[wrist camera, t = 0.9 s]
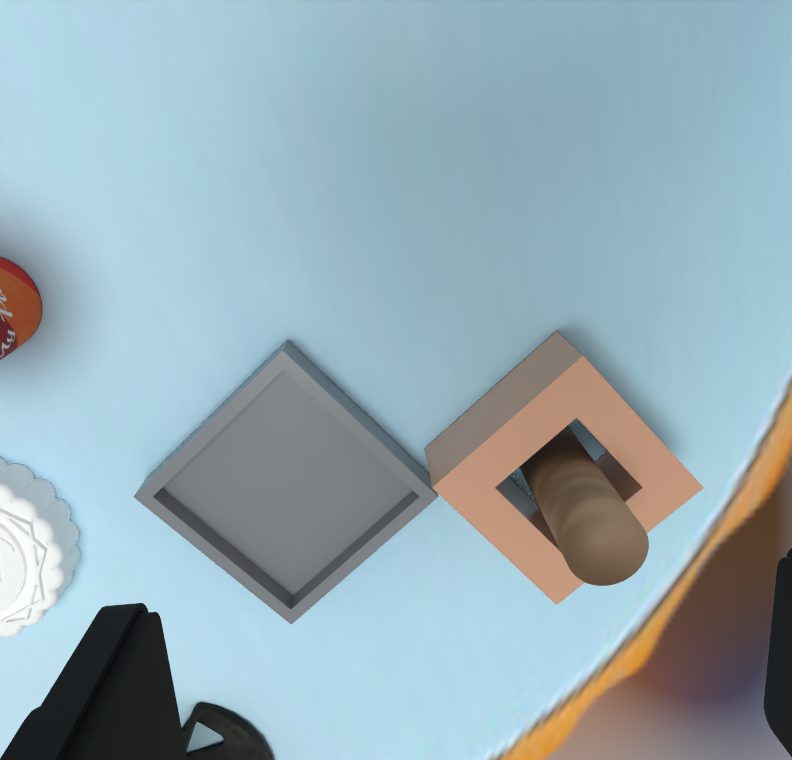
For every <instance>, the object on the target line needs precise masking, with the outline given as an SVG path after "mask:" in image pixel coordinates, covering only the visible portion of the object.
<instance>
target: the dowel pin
mask: <svg viewBox="0 0 792 760" xmlns="http://www.w3.org/2000/svg"><path fill="white" fill-rule="evenodd" d="M520 469H521V471H522V473H523V475H524V477H525V479H526V481H527V483H528V486H529V488H530V490H531V492H532V494H533V496H534V498H535V500H536V502H537V504H538V506H539V508H540V510H541V512H542V514H543V516H544V518H545V520H546V522H547V524H548V526H549V528H550V530H551V532H552V534H553V536H554V538H555V540H556V542H557V544H558V546H559V549H560V551H561V553H562V555H563V557H564V559H565V561H566V563H567V565H568V567H569V569H570V570H571V572H572V573H573V574H574V575H575V576H576V577H577V578H578V579H580V580H582V581H584V582H586V583H589V584H592V585H599V586H605V585H613V584H616V583H619V582H622V581H624V580H626V579H628V578H629V577H631V576H632V575H633V574H634V573H635V572H637V570H638V569H639V568H640V567H641V566H642V564H643V563H644V561H645V559H646V556H647V553H648V547H649V543H648V536H647V533H646V531H645V529H644V528H643V526H642V525H641V523H640V522H639V521H638V519H637V518H636V517H635V515H634V514H633V513H632V511H631V510H630V509H629V507H628V506H627V505H626V503H625V502H624V501H623V499H622V498H621V497H620V495H619V494H618V493H617V491H616V490H615V489H614V487H613V486H612V485H611V483H610V482H609V481H608V479H607V478H606V477H605V475H604V474H603V473H602V471H601V470H600V469H599V467H598V466H597V465H596V463H595V462H594V461H593V459H592V458H591V457H590V455H589V454H588V453H587V451H586V450H585V449H584V447H583V446H582V445H581V443H580V442H579V441H578V439H577V438H576V437H575V435H574V434H573V433H572V431H571V430H570V429H569V428H568V427H567V426H566V427H565V428H564V429H563V430H562V431H560V432H559V433H558V434H557V435H556V436H555V437H553V438H552V439H551V440H550V441H549V442H548V443H546V444H545V445H544V446H543V447H542V448H541V449H539V450H538V451H537V452H536V453H535V454H534V455H532V456H531V457H530V458H529V459H528V460H527V461H525V462H524V463H523V464H522V465H521V466H520Z"/></svg>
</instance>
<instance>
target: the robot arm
mask: <svg viewBox="0 0 792 760" xmlns="http://www.w3.org/2000/svg"><path fill="white" fill-rule="evenodd" d="M764 710H765V715H766V718H767V721H768V724H769V726H770V728H771V729H772V731H773V732H774V734H775V735H776V737H777V738H778V739H779V741H780V742H781V743H782V744H783V746H784V747H785V748H786V750H787V751H788V753H789V754H790V755H791V757H792V549H790V550H789V552H788V554H787V557H785V558H782V559H781V560H780V561H779V563H778V566H777V575H776V585H775V595H774V605H773V616H772V625H771V636H770V647H769V657H768V666H767V677H766V686H765V696H764ZM0 760H187V754H186V749H185V744H184V739H183V733H182V728H181V723H180V718H179V712H178V707H177V702H176V697H175V691H174V686H173V681H172V676H171V670H170V665H169V660H168V655H167V649H166V644H165V639H164V634H163V628H162V623H161V619H160V616H159V614H158V613H157V612H150V613H148V609H147V608H146V606H145V605H144V604H143V603H137V604H125V605H114V606H105V607H102V608H101V609H100V611H99V612H98V613H97V615H96V617H95V618H94V620H93V622H92V623H91V625H90V626H89V628H88V630H87V631H86V633H85V635H84V636H83V638H82V639H81V641H80V643H79V644H78V646H77V648H76V649H75V651H74V652H73V654H72V656H71V657H70V659H69V661H68V662H67V664H66V666H65V667H64V669H63V670H62V672H61V674H60V675H59V677H58V679H57V680H56V682H55V683H54V685H53V687H52V688H51V690H50V692H49V693H48V695H47V696H46V698H45V700H44V701H43V703H42V705H41V706H40V707H38V708H36V709H34V710H33V711H32V712H31V713H30V714H29V715H28V716H27V718H26V719H25V720H24V722H23V723H22V725H21V727H20V728H19V730H18V731H17V733H16V735H15V736H14V738H13V739H12V741H11V742H10V744H9V746H8V747H7V749H6V750H5V752H4V754H3V755H2V757H1V758H0Z"/></svg>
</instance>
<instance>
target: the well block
mask: <svg viewBox="0 0 792 760" xmlns="http://www.w3.org/2000/svg"><path fill="white" fill-rule="evenodd" d="M576 418H577V419H578V420H579V421H580V422H581V423H582V424H583V425H584V426H585V427H586V428H587V429H588V430H589V431H590V432H591V433H592V434H593V435H594V437H595V438H596V439H597V440H598V441H599V442H600V443H601V444H602V445H603V446H604V447H605V448H606V449H607V450H608V451H607V452H606V453H605V454H604V455H603V456H601V457H600V458H599V459H598V460H597V461H595V463H596V465H597V466H598V467H599V469H600V470H601V471H602V473H603V474H604V475H605V477H606V478H607V479H608V481H609V482H610V483H611V485H612V486H613V487H614V489H615V490H616V491H617V493H618V494H619V495H620V497H621V498H622V499H623V501H624V502H625V503H626V505H627V506H628V507H629V509H630V510H631V511H632V513H633V514H634V515H635V517H636V518H637V519H638V521H639V522H640V523H641V525H642V526H643V528H644V529H645V531H646V533H648V532H649V531H650V530H651V529H653V528H654V527H655V526H656V525H658V524H659V523H660V522H661V521H663V520H664V519H665V518H666V517H668V516H669V515H670V514H671V513H673V512H674V511H675V510H676V509H678V508H679V507H680V506H682V505H683V504H684V503H685V502H687V501H688V500H689V499H690V498H692V497H693V496H694V495H695V494H697V493H698V492H699V491H700V490H702V489H703V486H702V485H701V484H700V483H699V482H698V481H697V480H696V479H695V478H694V477H693V475H692V474H691V473H690V472H689V471H688V470H687V469H686V468H685V467H684V466H683V464H682V463H681V462H680V461H679V460H678V459H677V458H676V457H675V456H674V455H673V453H672V452H671V451H670V450H669V449H668V448H667V447H666V446H665V445H664V444H663V442H662V441H661V440H660V439H659V438H658V437H657V436H656V435H655V434H654V433H653V431H652V430H651V429H650V428H649V427H648V426H647V425H646V424H645V423H644V422H643V420H642V419H641V418H640V417H639V416H638V415H637V414H636V413H635V412H634V411H633V410H632V408H631V407H630V406H629V405H628V404H627V403H626V402H625V401H624V400H623V399H622V397H621V396H620V395H619V394H618V393H617V392H616V391H615V390H614V389H613V388H612V386H611V385H610V384H609V383H608V382H607V381H606V380H605V379H604V378H603V377H602V375H601V374H600V373H599V372H598V371H597V370H596V369H595V368H594V367H593V366H592V364H591V363H590V362H589V361H588V360H587V359H586V358H585V357H584V356H583V355H582V354H581V353H580V352H579V351H578V350H577V349H576V348H575V347H573V346H572V345H571V344H570V343H569V342H568V341H567V340H566V339H565V338H564V337H562V336H561V335H560V334H559V333H558V332H557V331H556V332H555V333H553V334H552V335H551V336H550V337H549V338H548V339H547V340H546V341H544V342H543V343H542V344H541V345H540V346H539V347H538V348H537V349H536V350H534V351H533V352H532V353H531V354H530V355H529V356H528V357H527V358H525V359H524V360H523V361H522V362H521V363H520V364H519V365H518V366H516V367H515V368H514V369H513V370H512V371H511V372H510V373H509V374H508V375H506V376H505V377H504V378H503V379H502V380H501V381H500V382H499V383H497V384H496V385H495V386H494V387H493V388H492V389H491V390H490V391H488V392H487V393H486V394H485V395H484V396H483V397H482V398H481V399H479V400H478V401H477V402H476V403H475V404H474V405H473V406H472V407H471V408H469V409H468V410H467V411H466V412H465V413H464V414H463V415H462V416H460V417H459V418H458V419H457V420H456V421H455V422H454V423H453V424H451V425H450V426H449V427H448V428H447V429H446V430H445V431H444V432H443V433H441V434H440V435H439V436H438V437H437V438H436V439H435V440H434V441H432V442H431V443H430V444H429V445H428V446H427V447H426V448H425V453H426V458H427V463H428V468H429V474H430V479H431V484H432V488H433V489H434V490H435V491H436V492H437V493H438V494H439V495H441V496H442V497H443V498H444V499H445V500H446V501H447V502H448V503H449V504H450V505H451V506H452V507H453V508H454V509H455V510H456V511H458V512H459V513H460V514H461V515H462V516H463V517H464V518H465V519H466V520H467V521H468V522H469V523H470V524H471V525H472V526H473V527H475V528H476V529H477V530H478V531H479V532H480V533H481V534H482V535H483V536H484V537H485V538H486V539H487V540H488V541H489V542H490V543H492V544H493V545H494V546H495V547H496V548H497V549H498V550H499V551H500V552H501V553H502V554H503V555H504V556H505V557H506V558H507V559H509V560H510V561H511V562H512V563H513V564H514V565H515V566H516V567H517V568H518V569H519V570H520V571H521V572H522V573H523V574H524V575H525V576H527V577H528V578H529V579H530V580H531V581H532V582H533V583H534V584H535V585H536V586H537V587H538V588H539V589H540V590H541V591H542V592H544V593H545V594H546V595H547V596H548V597H549V598H550V599H551V600H552V601H553V602H554V603H555V604H556V605H557V604H558V603H560V602H561V601H562V600H563V599H565V598H566V597H567V596H568V595H570V594H571V593H572V592H573V591H575V590H576V589H577V588H578V587H580V586H581V585H582V584H583V583H585V582H584V581H582V580H580V579H578V578H577V577H576V576H575V575H574V574H573V573H572V572H571V570H570V569H569V567H568V565H567V563H566V561H565V559H564V557H563V555H562V553H561V551H560V549H559V546H558V544H557V542H556V540H555V538H554V536H553V534H552V532H551V530H550V528H549V526H548V524H547V522H546V520H545V518H544V516H543V514H542V512H541V510H540V508H539V507H538V506H537V505H536V504H535V503H534V502H533V501H532V500H531V499H530V498H529V497H528V496H527V495H526V494H525V493H524V492H523V491H522V490H521V489H520V488H519V487H518V486H517V485H516V484H515V483H514V482H513V481H512V480H511V479H510V478H509V477H508V476H509V475H510V474H511V473H513V472H514V471H515V470H516V469H517V468H518V467H520V466H521V465H522V464H523V463H524V462H525V461H527V460H528V459H529V458H530V457H531V456H532V455H534V454H535V453H536V452H537V451H538V450H539V449H541V448H542V447H543V446H544V445H545V444H546V443H548V442H549V441H550V440H551V439H552V438H553V437H555V436H556V435H557V434H558V433H559V432H560V431H562V430H563V429H564V428H565V427H566V426H568V425H569V424H570V423H571V422H572V421H573V420H575V419H576Z"/></svg>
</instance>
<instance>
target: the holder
mask: <svg viewBox="0 0 792 760" xmlns="http://www.w3.org/2000/svg"><path fill="white" fill-rule="evenodd" d="M196 721H197V722H199V723H201V724H203V725H205V726H207V727H208V728H210V729H212V730H213V731H215V732H217V733H218V734H220V735H221V736H222V737H223V738H224V740H225V742H224V743H222V744H221V745H217V746H214V747H210V748H207V749H203V750H200V751H196V752H193V753H190V754H187V760H272V759H271V756H270V754H269V752H268V750H267V749H266V747H265V745H264V743H263V741H262V740H261V739H260V738H259V737H258V736H257V735H256V734H255V732H254V731H253V730H252V729H251V728H250V727H249V726H248V725H247V724H245V723H244V722H243V721H242V720H240V719H239V718H238V717H236V716H235V715H233V714H231V713H230V712H228V711H226V710H224V709H222V708H220V707H217V706H215V705H211V704H208V703H198V704H197V705H196V706H195V707H194V709H193V712H192V714H191V717H190V718H189V719H188V721H187V722H186V723H185V724H184V726H183V727H182V733H183V739H184V744H185V749H186V751H187V748H188V744H189V741H190V738H191V735H192V732H193V729H194V727H195V724H196Z"/></svg>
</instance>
